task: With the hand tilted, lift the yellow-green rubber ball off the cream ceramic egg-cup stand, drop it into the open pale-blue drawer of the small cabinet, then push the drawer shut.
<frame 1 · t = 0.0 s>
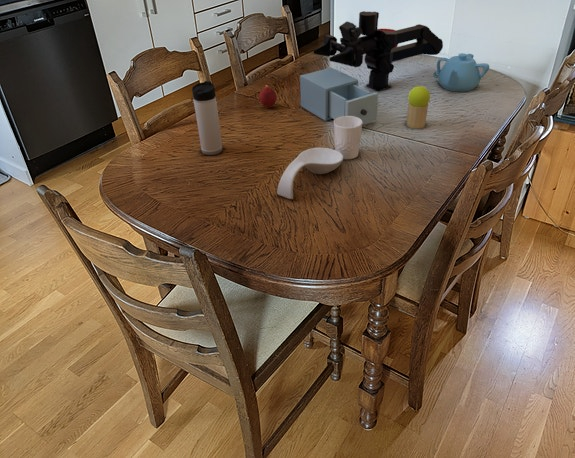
hand: (321, 55, 163), 17 cm above the table, tool horizontal, fingers open, 9 cm apart
spoon rest: (310, 178, 134), on the table
stand: (415, 124, 157), on the table
onion: (268, 108, 172), on the table
travel mug: (212, 150, 148), on the table
drawer: (350, 105, 157), point 5 cm above the table, slide at 9.5 cm
white cup: (346, 154, 143), on the table
ball: (419, 97, 151), point 9 cm above the table, touching stand
cabinet: (328, 108, 169), on the table
teapot: (458, 85, 181), on the table
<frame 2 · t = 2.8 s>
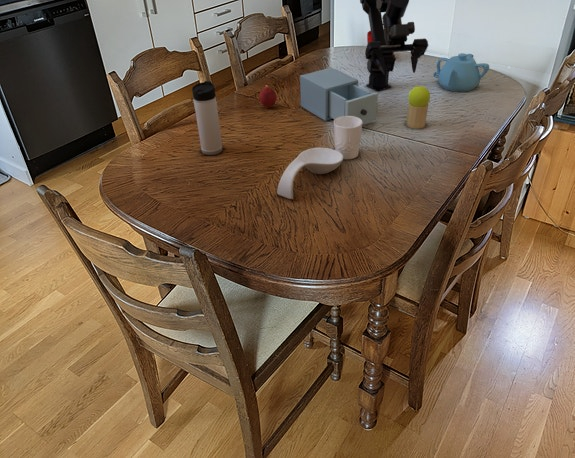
hand: (399, 73, 154), 14 cm above the table, tool tilted 50°, fingers open, 9 cm apart
nothing on the table moved.
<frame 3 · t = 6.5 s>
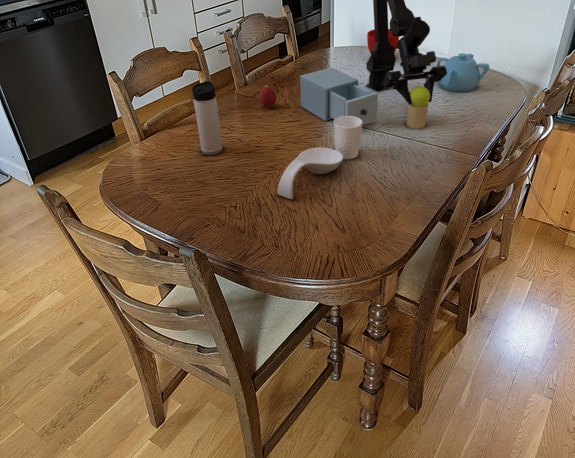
hand: (420, 103, 151), 8 cm above the table, tool tilted 45°, fingers closed on ball, 6 cm apart
ball: (419, 96, 151), point 9 cm above the table, touching gripper, stand
everything else where it was.
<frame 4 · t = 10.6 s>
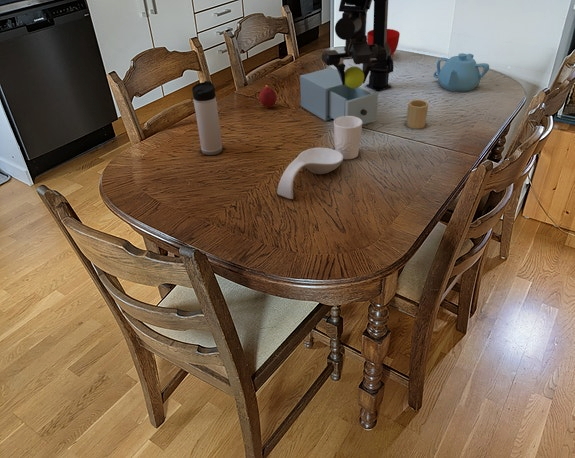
hand: (353, 83, 153), 13 cm above the table, tool pointing down, fingers closed on ball, 6 cm apart
ball: (353, 77, 151), point 14 cm above the table, tilted 44°, touching gripper
everything else where it was.
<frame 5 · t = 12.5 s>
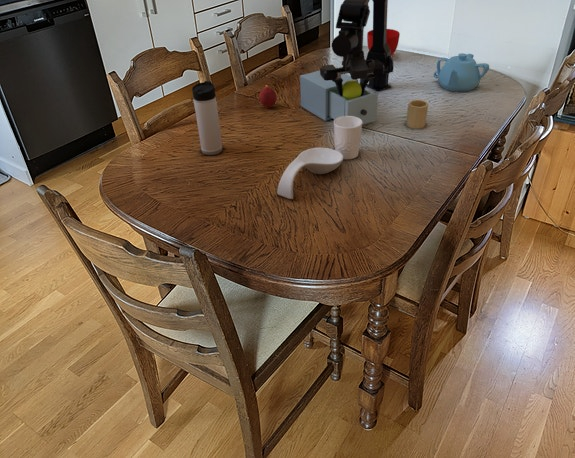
hand: (351, 96, 156), 8 cm above the table, tool pointing down, fingers closed on ball, 6 cm apart
ball: (351, 91, 154), point 10 cm above the table, tilted 45°, touching gripper
everything else where it was.
when the fingers open (11 cm above the table, at t = 29.7 s): ball drops 8 cm, resting on drawer.
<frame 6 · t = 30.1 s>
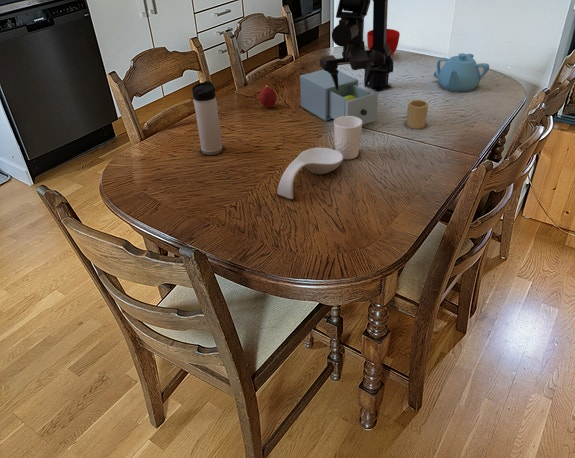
hand: (351, 88, 154), 11 cm above the table, tool pointing down, fingers open, 9 cm apart
drawer: (350, 105, 157), point 5 cm above the table, slide at 9.5 cm, touching ball
ball: (349, 105, 157), point 5 cm above the table, tilted 45°, touching drawer
everything else where it was.
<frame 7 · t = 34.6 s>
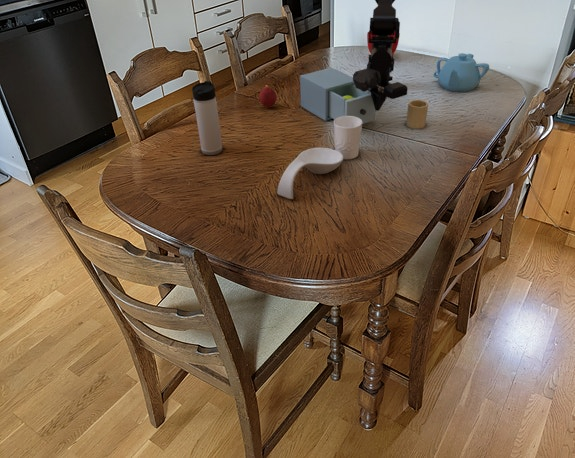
hand: (377, 110, 153), 6 cm above the table, tool pointing down, fingers closed
drawer: (349, 104, 158), point 5 cm above the table, slide at 9.1 cm, touching ball
everything else where it was.
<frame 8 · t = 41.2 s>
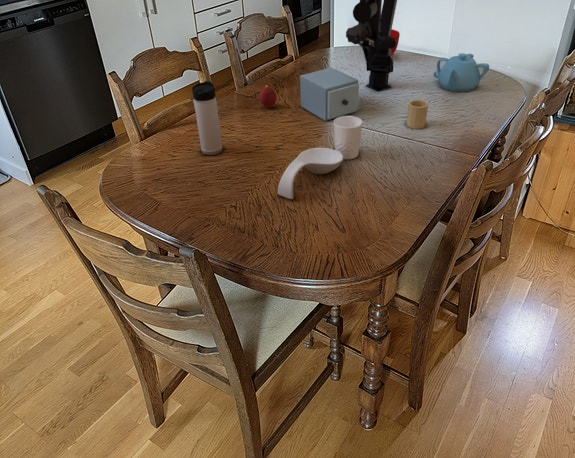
hand: (368, 64, 165), 13 cm above the table, tool pointing down, fingers closed
drawer: (332, 95, 164), point 5 cm above the table, slide at 0.0 cm, touching ball, cabinet
ball: (328, 95, 165), point 5 cm above the table, tilted 32°, touching drawer
everything else where it was.
at the end: ball inside the target area in the cabinet (1.1 cm from its centre), point 5.3 cm above the cabinet's base; drawer slide at 0.0 cm; the gripper is holding nothing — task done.
